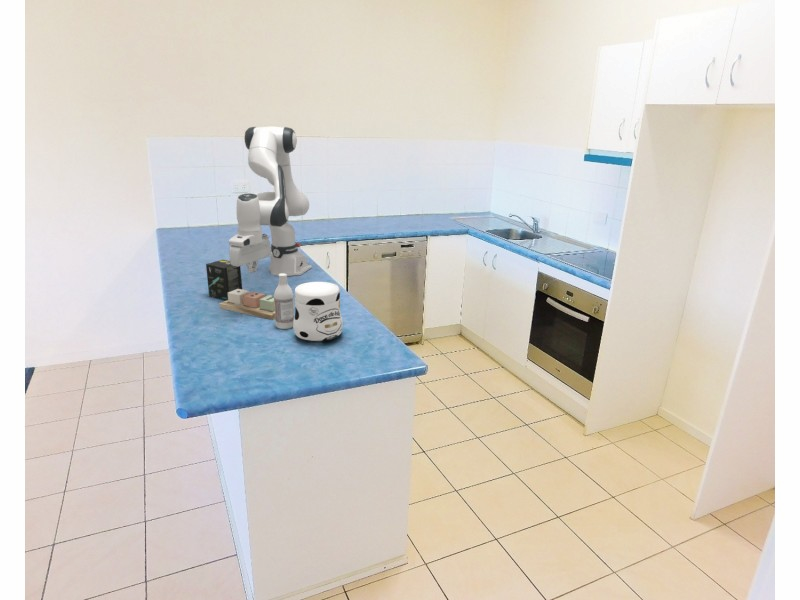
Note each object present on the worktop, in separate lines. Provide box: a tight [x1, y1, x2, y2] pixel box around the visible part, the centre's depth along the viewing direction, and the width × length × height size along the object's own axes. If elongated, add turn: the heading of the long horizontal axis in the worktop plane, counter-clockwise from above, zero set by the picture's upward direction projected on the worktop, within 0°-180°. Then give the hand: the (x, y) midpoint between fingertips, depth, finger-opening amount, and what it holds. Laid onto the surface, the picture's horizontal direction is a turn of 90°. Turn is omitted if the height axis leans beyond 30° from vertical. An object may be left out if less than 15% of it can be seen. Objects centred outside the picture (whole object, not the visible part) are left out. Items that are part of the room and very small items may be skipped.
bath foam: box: [273, 273, 295, 330], centre depth 195 cm, size 7×7×20 cm
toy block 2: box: [243, 291, 266, 309], centre depth 212 cm, size 6×6×4 cm
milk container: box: [292, 281, 344, 343], centre depth 187 cm, size 17×17×18 cm
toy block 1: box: [228, 288, 251, 305], centre depth 215 cm, size 6×6×4 cm
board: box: [218, 300, 275, 321], centre depth 213 cm, size 12×26×2 cm, turn 65°
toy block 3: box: [259, 294, 275, 312], centre depth 209 cm, size 6×6×4 cm
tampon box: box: [205, 259, 243, 302], centre depth 225 cm, size 11×9×15 cm
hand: (252, 272), depth 208 cm, fingers closed
